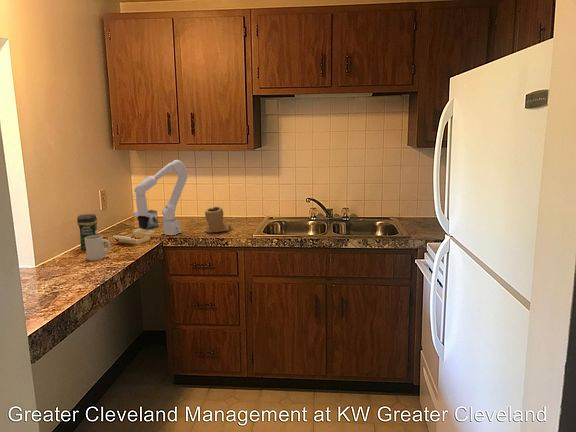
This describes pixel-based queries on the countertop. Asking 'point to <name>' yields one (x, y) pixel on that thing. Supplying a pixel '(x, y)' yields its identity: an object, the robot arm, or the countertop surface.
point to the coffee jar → (87, 227)
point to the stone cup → (216, 220)
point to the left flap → (124, 237)
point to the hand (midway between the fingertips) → (144, 228)
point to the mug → (96, 247)
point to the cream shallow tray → (136, 241)
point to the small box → (151, 220)
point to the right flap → (144, 231)
